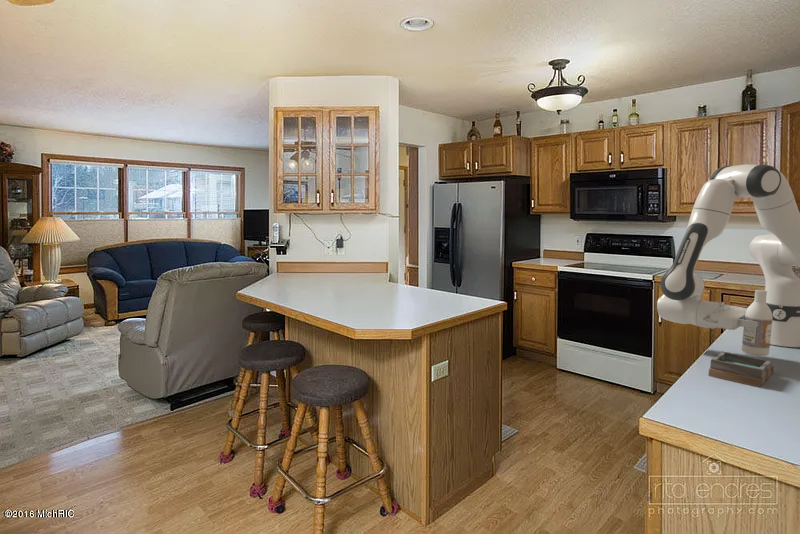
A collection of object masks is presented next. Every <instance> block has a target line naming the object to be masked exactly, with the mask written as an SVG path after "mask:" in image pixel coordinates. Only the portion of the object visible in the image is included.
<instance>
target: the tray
mask: <svg viewBox="0 0 800 534" xmlns="http://www.w3.org/2000/svg"><path fill="white" fill-rule="evenodd" d="M772 361H773V360H768V359H765V358H763V359H762V358H758V357H753V356H749V355H748V356H747V355H743V354H739V353H738V354H737V353H732V352H728V351H727V352H726V351H721V352H720V353H718V354H717V355H716V356H714V357H713V358H711V359H710V367H709V368H708V376H709V377H714V378H717V379H722V380H727V381H731V382H735V383H740V384H744V385H749V386H753V387H757V388H760V387H761V386H762V385H763V384H764V383H765V382H766V381H767V380H768V379H769V378H770V377H771V376H772V375H773V374H774V372H775V365H772Z"/></svg>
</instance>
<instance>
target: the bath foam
mask: <svg viewBox="0 0 800 534" xmlns="http://www.w3.org/2000/svg"><path fill="white" fill-rule="evenodd" d="M766 296H767V291H765V290H764V289H756V290H754V300H753V302H752V303H751V304H750V305H749V306H748V308H746V309H747V311H746V313H745V319H744V320H750V321H752V320H753V321H758V322H759V326H758V327H743V331H742V346H741V350H742V352H743V353H744V354H748V355H752V356H757V357H759V356H760V357H761V356H762V357H767V356H768V355H770V347H771V344H770V340H771V330H772V320H773V319H772V318H773V317H772V312H771V310H770V308H769V307H768V305H767V304H766Z"/></svg>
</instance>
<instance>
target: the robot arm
mask: <svg viewBox="0 0 800 534" xmlns="http://www.w3.org/2000/svg"><path fill="white" fill-rule="evenodd" d="M744 198H745V199H746V198H752V202H753V206H754V209H755V213H756V216H757V218H758V220H759V224H760V226H761V227H762V229H764V230H766V231H767V232H769V233H767V234H759V235H756V236H755V237H754V238H753V239H752V240H751V242H750V243H749V249H748V250H749V255H750V257H751V258H753V259H754V261H756V262H757V263H758V265H759V267H760V268H761V271H762V272H763V276H764V280H765V281H764V282H765V286H764V289H765V291H767V296H766V304H767V305H768V307H769V308H770V310H771V312H772V317H773V318H772V319H773V320H772V330H771V340H770V345H772V346H780V347H787V348H800V277H799V276H797V275H796V273H795V272H794V270H793V267H798V268H800V211H799V207H798V205H797V203H796V199H795V195H794V193H793V190H792V187H791V186H790V183H789V181H788V180H787V178H786V176H785V175H784V174H783V173H782V172H781V171H779V170H778V169H777V168H776V167H774V166H772V165H769V164H762V163H761V164H755V163H754V164H751V163H750V164H748V163H747V164H746V163H744V164H738V165H727V166H726V165H725V166H722V167H720V168H717V169H716V170H715V171H713V173H712V174H711V176H710V178H709V180H708V181H706V182H705V183H704V184H703V186H702V187H701V189H700V191H699V192H698V195H697V197H696V199H695V202H694V204H693V206H692V210H691V214H690V217H689V220H688V224H687V227H686V230H685V233H684V235H683V238H682V240H681V242H680V245H679V248H678V250H677V252H676V255H675V258H674V260H673V262H672V265H671V266H670V267H669V269H667V270H666V272H665V273H664V274H663V275H662V277H661V279H660V282H659V283H660V284H659V285H660V290H661V292H662V295H661V296H660V297H659V298H657V302H656V311H657V313H658V315H659V317H660V318H662V319H663V320H665V321H668V322H672V323H675V324H676V323H677V324H681V325H687V324H688V325H694V326H696V327H701V328H707V329H712V330H713V329H714V330H715V329H717V328H718V329H725V330H730V331H731V330H732V331H734V330H737V329H738V328H740V327H742V328H744V327H758V326H759V322H758V321H753V320H752V321H750V320H744V319H745V313H746V311H747V309H748V308H746V307H741V306H736V305H732V304H725V302H723V301H722V302H721V301H708V300H701V299H702V297H703V295H704V291H705V287H706V286H705V281H704V279H703V278H702V277H701V275H700V274H698V273H696V272H694V271H695V269H696V266H697V263H698V261H699V258H700V255H701V253H702V251H703V249H704V247H705V246H706V245H707V244H708V243H710V241H713V239H716V238H718V237H720V236H721V235H722V234H723V232H724V230H726V229H725V228H726V227H727V225H728V223H729V221H730V217H731V216H732V215H731V214H732V211H733V209H734V204H735V203H734V202H735V201H736V200H737V199H744Z"/></svg>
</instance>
